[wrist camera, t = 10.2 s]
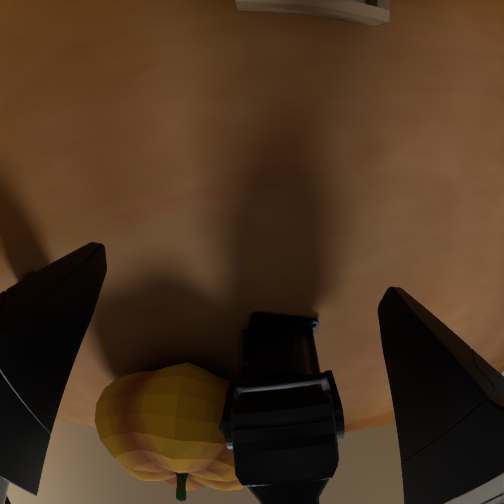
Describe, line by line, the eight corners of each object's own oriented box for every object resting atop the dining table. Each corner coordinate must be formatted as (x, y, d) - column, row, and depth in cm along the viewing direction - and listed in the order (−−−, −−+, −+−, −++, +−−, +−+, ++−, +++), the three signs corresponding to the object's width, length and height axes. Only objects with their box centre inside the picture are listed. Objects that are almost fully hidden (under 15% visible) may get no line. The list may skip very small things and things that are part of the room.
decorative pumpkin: (298, 407, 39) (307, 506, 26) (168, 427, 44) (158, 508, 31) (234, 319, 28) (228, 477, 16) (81, 359, 33) (46, 460, 21)
